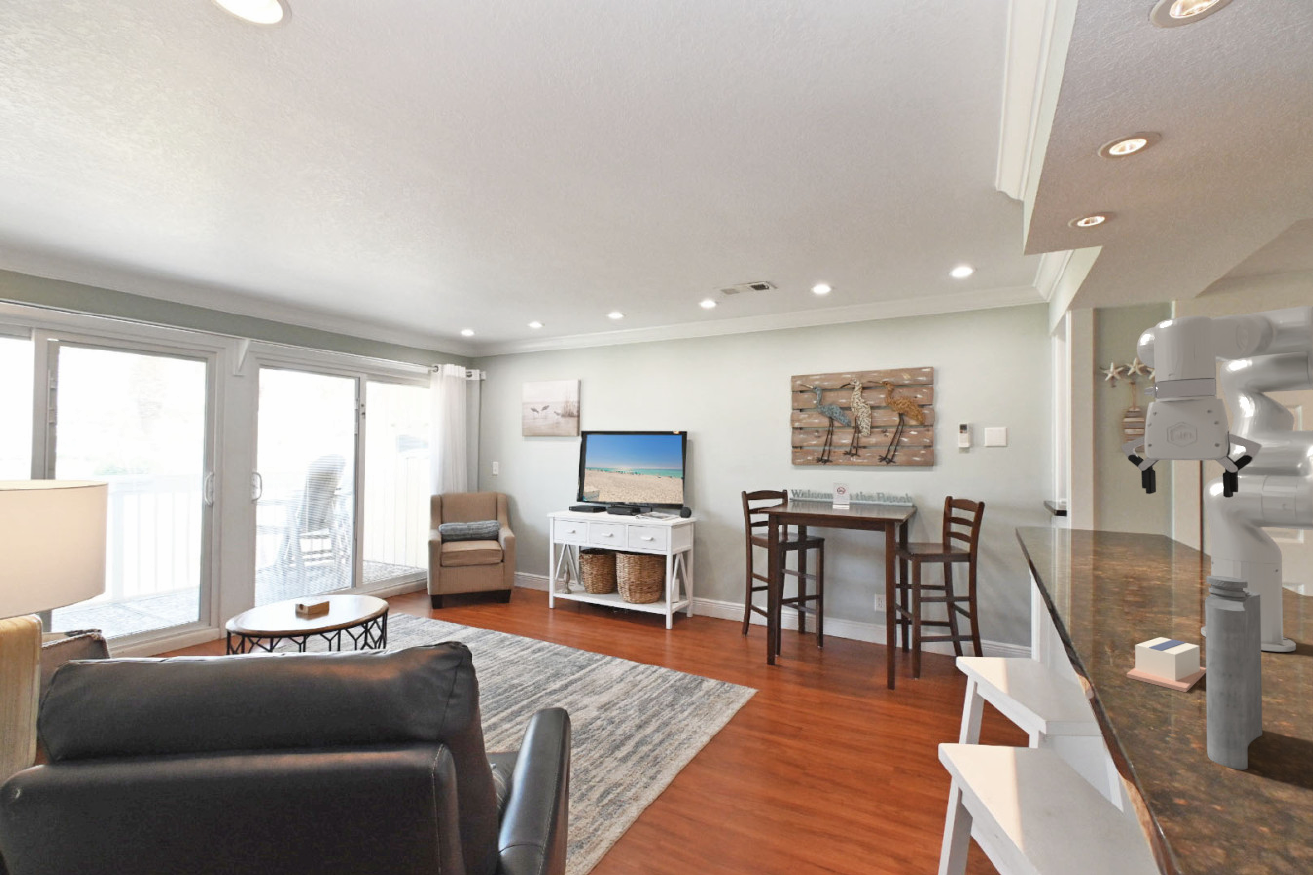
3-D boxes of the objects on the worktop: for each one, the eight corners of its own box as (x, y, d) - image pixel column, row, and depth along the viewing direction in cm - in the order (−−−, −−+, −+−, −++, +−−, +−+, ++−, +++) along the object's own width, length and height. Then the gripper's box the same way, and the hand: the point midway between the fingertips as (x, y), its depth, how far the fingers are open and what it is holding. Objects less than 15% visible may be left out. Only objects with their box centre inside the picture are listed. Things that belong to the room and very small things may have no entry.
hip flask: (1245, 772, 63) (1243, 589, 64) (1195, 757, 67) (1193, 582, 67) (1263, 731, 73) (1261, 572, 74) (1219, 719, 76) (1217, 567, 77)
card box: (1135, 670, 92) (1135, 644, 92) (1160, 661, 97) (1160, 636, 97) (1175, 681, 88) (1174, 653, 88) (1199, 671, 92) (1199, 645, 92)
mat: (1151, 659, 99) (1151, 655, 99) (1206, 671, 94) (1206, 668, 94) (1126, 677, 91) (1126, 673, 91) (1186, 692, 85) (1186, 688, 85)
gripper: (1113, 395, 101) (1116, 493, 101) (1255, 386, 87) (1258, 500, 87) (1126, 396, 105) (1129, 490, 105) (1263, 388, 91) (1267, 496, 91)
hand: (1188, 494), depth 96 cm, fingers open, 9 cm apart
